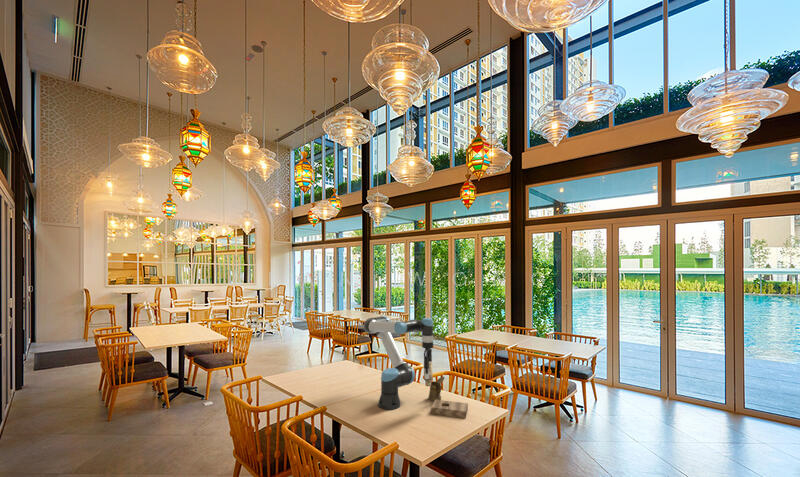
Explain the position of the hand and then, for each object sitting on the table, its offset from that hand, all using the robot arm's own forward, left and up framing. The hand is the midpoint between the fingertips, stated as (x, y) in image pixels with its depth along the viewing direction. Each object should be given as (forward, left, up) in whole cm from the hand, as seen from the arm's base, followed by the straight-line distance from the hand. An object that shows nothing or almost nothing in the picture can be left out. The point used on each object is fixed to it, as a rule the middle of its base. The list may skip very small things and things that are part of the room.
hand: (428, 377), depth 236 cm
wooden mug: (+2, +20, -22) cm, 30 cm away
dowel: (0, 0, -5) cm, 5 cm away
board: (+14, +2, -21) cm, 26 cm away
